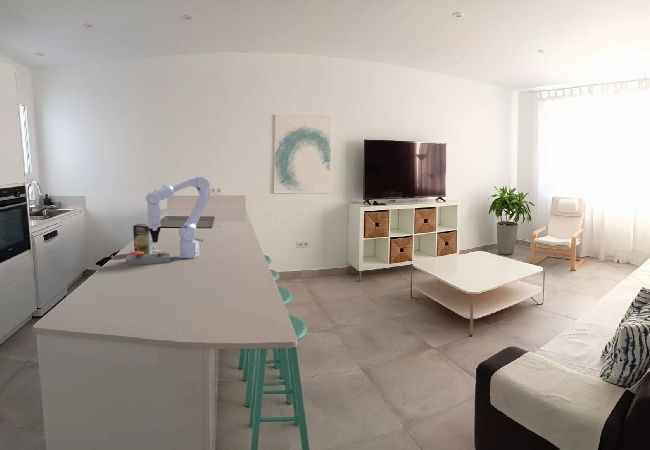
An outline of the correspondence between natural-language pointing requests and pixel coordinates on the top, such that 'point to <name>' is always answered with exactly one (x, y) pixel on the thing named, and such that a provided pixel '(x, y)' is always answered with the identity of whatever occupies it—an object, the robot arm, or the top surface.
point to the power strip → (147, 259)
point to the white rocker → (158, 251)
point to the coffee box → (143, 239)
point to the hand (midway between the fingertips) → (155, 242)
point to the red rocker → (137, 253)
